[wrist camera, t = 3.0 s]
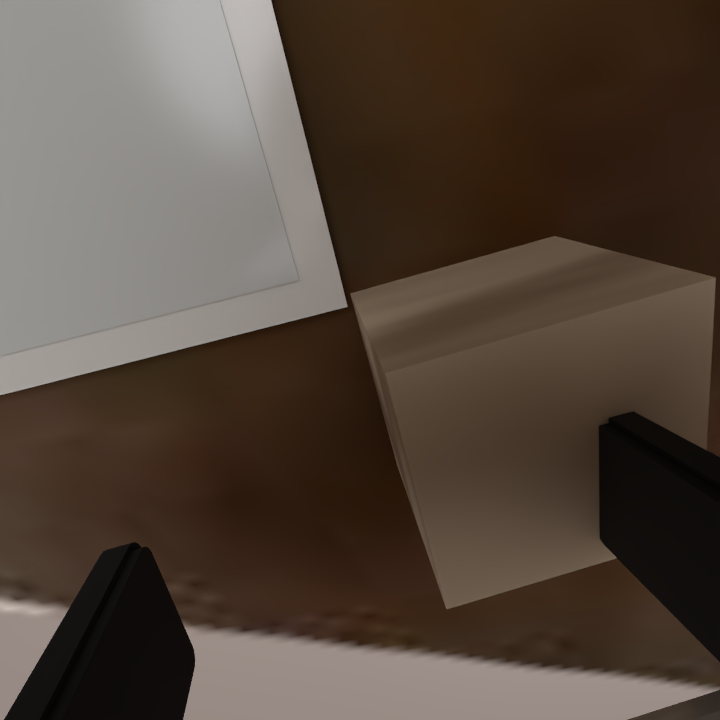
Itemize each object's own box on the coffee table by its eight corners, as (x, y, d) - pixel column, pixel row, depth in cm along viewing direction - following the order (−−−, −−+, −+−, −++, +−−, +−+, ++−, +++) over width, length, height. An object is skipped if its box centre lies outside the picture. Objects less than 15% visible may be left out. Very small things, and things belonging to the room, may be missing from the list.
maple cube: (715, 277, 8) (546, 233, 14) (385, 373, 8) (348, 290, 14) (701, 532, 11) (562, 407, 16) (446, 609, 10) (394, 457, 16)
